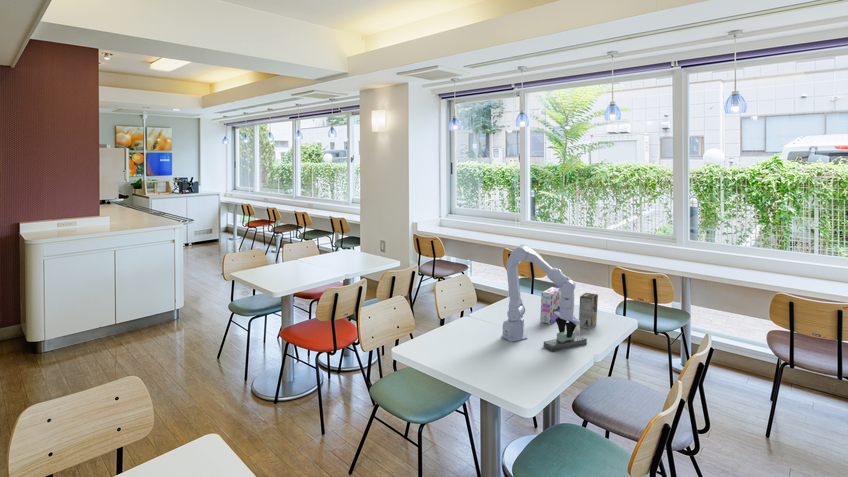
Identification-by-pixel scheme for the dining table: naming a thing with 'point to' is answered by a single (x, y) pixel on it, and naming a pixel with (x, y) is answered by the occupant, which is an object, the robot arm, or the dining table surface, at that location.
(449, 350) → the dining table surface
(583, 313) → the coffee box
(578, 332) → the white dome cap
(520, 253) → the robot arm
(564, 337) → the green toy bench
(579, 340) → the rail
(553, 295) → the candy box
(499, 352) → the dining table surface
